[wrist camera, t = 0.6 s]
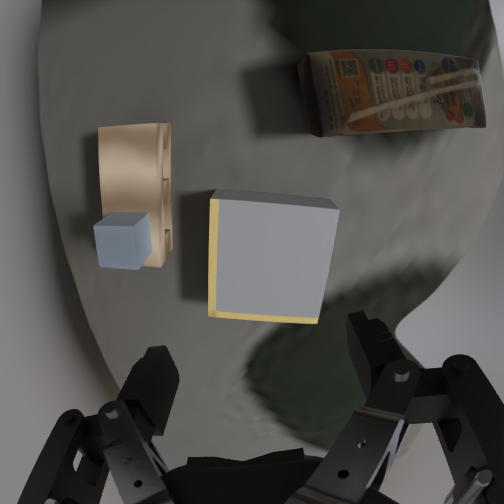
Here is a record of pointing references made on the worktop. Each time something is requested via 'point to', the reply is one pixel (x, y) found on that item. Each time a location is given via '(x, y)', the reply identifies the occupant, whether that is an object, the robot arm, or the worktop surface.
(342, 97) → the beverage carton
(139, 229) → the pale blue cube
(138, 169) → the tan rectangular block
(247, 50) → the worktop surface
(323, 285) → the dock
